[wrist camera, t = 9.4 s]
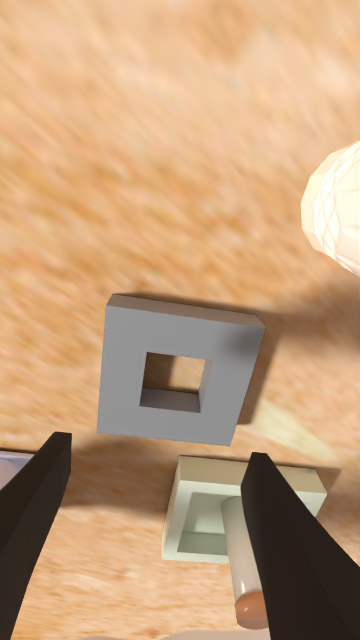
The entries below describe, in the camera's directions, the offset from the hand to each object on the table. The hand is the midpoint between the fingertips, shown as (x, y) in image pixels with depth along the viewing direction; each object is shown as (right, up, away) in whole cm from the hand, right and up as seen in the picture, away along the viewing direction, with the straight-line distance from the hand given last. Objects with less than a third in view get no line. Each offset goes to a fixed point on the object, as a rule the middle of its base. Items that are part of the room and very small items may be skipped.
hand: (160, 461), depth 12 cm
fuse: (+6, -12, +16) cm, 21 cm away
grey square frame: (0, +2, +10) cm, 11 cm away
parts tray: (+6, -12, +17) cm, 21 cm away
